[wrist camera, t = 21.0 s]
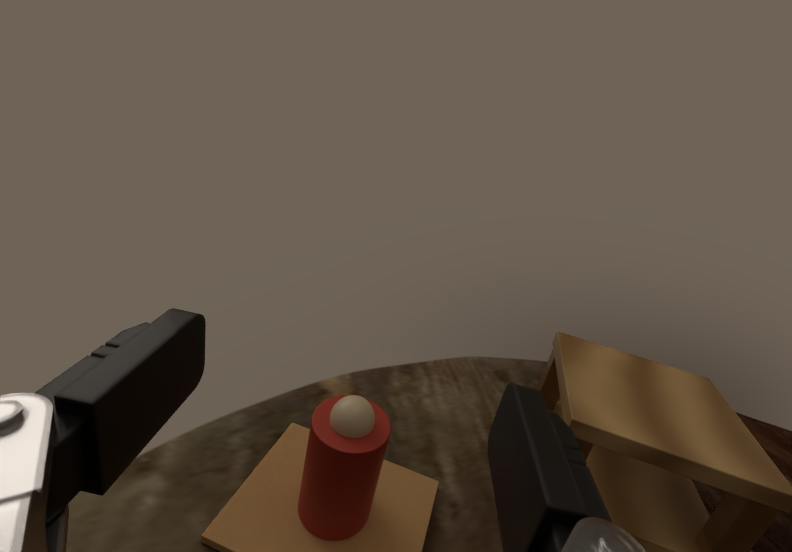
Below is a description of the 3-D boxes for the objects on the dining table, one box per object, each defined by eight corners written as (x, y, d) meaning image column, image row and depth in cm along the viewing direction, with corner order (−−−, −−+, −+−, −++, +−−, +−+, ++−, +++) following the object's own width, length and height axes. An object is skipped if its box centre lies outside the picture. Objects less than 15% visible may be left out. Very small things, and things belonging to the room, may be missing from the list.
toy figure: (379, 491, 28) (405, 391, 25) (353, 554, 24) (381, 443, 21) (318, 466, 29) (336, 366, 26) (283, 522, 25) (299, 411, 21)
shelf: (654, 469, 36) (709, 378, 33) (710, 611, 26) (802, 498, 22) (520, 421, 39) (557, 330, 35) (518, 532, 28) (571, 418, 24)
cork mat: (437, 487, 30) (439, 481, 30) (399, 639, 21) (402, 633, 21) (291, 428, 32) (292, 422, 32) (200, 542, 23) (200, 535, 23)
